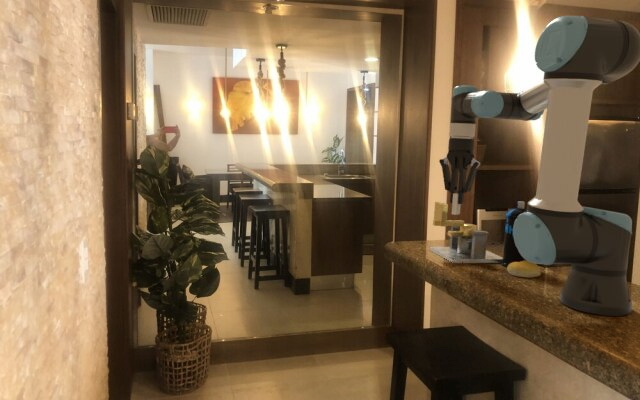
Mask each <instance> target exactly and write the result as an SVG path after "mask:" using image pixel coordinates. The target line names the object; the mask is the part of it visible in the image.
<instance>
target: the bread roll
mask: <svg viewBox="0 0 640 400" xmlns="http://www.w3.org/2000/svg"><path fill="white" fill-rule="evenodd" d="M506 270H507V273H508V274H509V275H510V276H511V275H512V276H515V277H520V278H528V279H529V278H538V277H540V276H541V274H542V273H541V269H540V266H538V265H537V264H534V263H530V262H528V261H527V260H524V261H520V262H512V263H510V264H509V265H508V267H506Z"/></svg>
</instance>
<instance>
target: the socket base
mask: <svg viewBox="0 0 640 400" xmlns="http://www.w3.org/2000/svg"><path fill="white" fill-rule="evenodd" d="M450 231H460V226H450ZM484 231H485V230H480V229H479V230H470V234H472V235H473V238H464V237H451V236H449V246H430V248H429V251H430V252H433V253H434V254H435V253H436V254H435V255H437V254H438V255H437V256H439V255H440V256H439V257H441V256H442V257H441V258H442V259H444V258H445V260H446V259H447V260H446V261H448V260H449V261H448V262H450V261H451V262H452V263H451V262H450V263H451V264H502V262H503V256H500V255H497V254H496V253H494V252H491V251H490V250H489V251H488V250H487V242H488V237H487V236H486V232H487V231H485V232H484ZM462 262H463V263H462Z"/></svg>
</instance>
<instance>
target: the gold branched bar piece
mask: <svg viewBox="0 0 640 400" xmlns="http://www.w3.org/2000/svg"><path fill="white" fill-rule="evenodd" d="M448 208H449V204H448V203H444V202H441V201H435V202H434V211H433V212H434V213H433V215H434V216H433V221H432V225H433V226H434V227H436V226H437V227H451V226H460V231H451V230H448V231H447V236H448V237H450V236H451V237H464V238H473V235H472V234H470V230H477V228H478V225H476V224H472V223H465V220H461V219H459V220H458V219H457V220H454V219H449V220H448V210H449V209H448ZM483 231H484V232H486V236H487V238H489V232H488V231H485V230H483Z"/></svg>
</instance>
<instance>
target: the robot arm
mask: <svg viewBox="0 0 640 400" xmlns="http://www.w3.org/2000/svg"><path fill="white" fill-rule="evenodd" d="M534 61H535V64H536V67H537V68H538V69H539V70H540V71H541V72H543V79H542V80H540V81H538V82H536V83H535V84H533V85H532V86H530V87H528V88H525V89H523V91H521V92H517V93H516V92H515V93H514V92H500V91H496V90H491V89H490V90H488V89H485V90H480V91H479V87H478V86H474V85H457V86H455V87H454V88H453V90H452V97H451V110H450V126H449V134H448V136H450V137H449V139H448V146H447V147H448V152H447V154H446V156H445V157H444V158H442V159H441V158H440V159H439V161H438V162H439V163H440V166H441V171H442V177H443V184H444V190H445V191H448V192H449V194H450V198H449V202H450V204H452V205H451V215H453V216H454V215H456V216H458V215H461V205H463V203H464V197H465V194H466V193H470V192H471V191H472V187H473V184H474V182H475V181H474V180H475V178H476V175H477V172H478V170H479V168H480V167H481V165H482V163H481V161H478V160H477V159H475V155H474V151H475V150H474V149H475V148H474V147H475V138H474V137H476V136H475V135H476V123H477V122H476V121H477V119H493V120H515V121H522V122H523V121H525V122H528V121H537V120H538V119H540V118H541V117H542V115H543V114H544V112H545V111H546V113H545V114H546V116H545V122H544V131H543V138H542V145H541V147H542V148H541V153H540V154H541V155H540V162H539V170H538V177H537V183H536V193H535V196H534V197H533V198H532V199H530V200H529V201H528V202H527V207H526V210H527V212H524V213H522V214H520V215H519V216H518V217H517V219H516V220H515V222H514V227H513V236H514V241H515V245H516V247H517V248H518V251H519V253H520V254H521V256H522V257H523V258H524V259H525V260H527V261H528V262H530V263H534V264H536V265H537V264H538V265H544V266H551V265H566V264H568V265H569V264H570V265H571V266H570V272H569V273H568V276H567V278H566V280H565V282H564V284H563V288H561V291H560V295H559V301H560V303H561V304H562V305H564V306H565V307H568V308H571V309H573V310H576V311H578V312H579V311H580V312H584V313H588V314H594V315H599V316H611V317H612V316H613V317H615V316H616V317H621V316H622V317H623V316H626V315H629V314H631V313H632V309H633V308H632V306H633V301H632V298H631V294H630V290H629V289H630V288H629V285H628V282H627V281H628V280H627V273H628V265H629V257H630V251H631V242H632V235H633V231H632V230H633V229H632V227H633V220H632V218H631V216H629V214H626V213H622V212H617V211H611V210H605V209H600V208H594V207H587V206H582V205H581V204H580V202H579V200H578V198H579V191H580V183H581V177H582V168H583V163H584V162H583V161H584V157H585V148H586V141H587V135H588V127H589V121H590V113H591V107H592V106H591V105H592V101H593V100H592V99H593V93H594V91H595V89H596V88H597V87H599V86H601V85H602V84H603V85H608V84H610V83H613V82H615V81H617V80H619V79H621V78H623V77H625V76H627V75H628V74H629V73H630V72H632V71H633V70H634V69H635V68H636V67H637V65H638V64H639V63H640V32H639V30H638V29H637V28H636V26H634V25H632V24H630V23H629V22H626V21H623V20H618V19H617V20H616V19H615V20H614V19H606V18H598V17H591V16H583V15H562V16H558V17H556V18H555V19H553V20H552V21H550V22H549V23H548V24H547V25H546V27H545V28H544V29H543V30H542V32H541V33H540V35H539V36H538V40H537V41H536V45H535V50H534ZM449 164H450V166H451V167H450V166H449ZM469 166H471V167H470V169H469V172H468V168H469ZM450 171H451V172H450ZM467 172H468V176H467Z"/></svg>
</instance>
